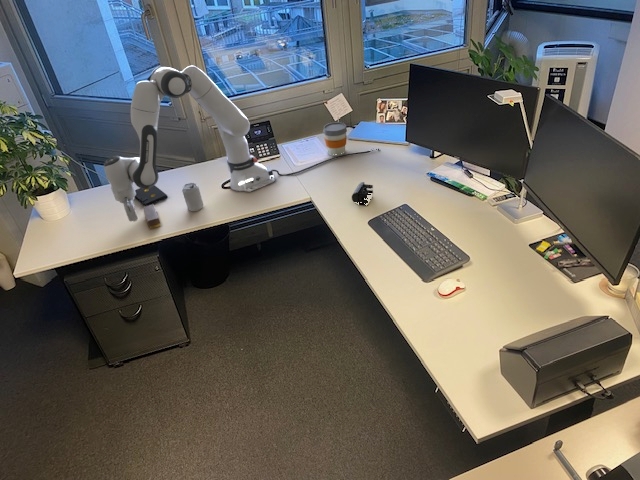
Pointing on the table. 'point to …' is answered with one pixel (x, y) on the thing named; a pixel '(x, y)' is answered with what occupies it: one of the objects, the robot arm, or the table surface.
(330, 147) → the reusable coffee cup
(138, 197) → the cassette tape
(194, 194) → the can
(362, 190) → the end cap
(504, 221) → the table surface
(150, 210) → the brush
